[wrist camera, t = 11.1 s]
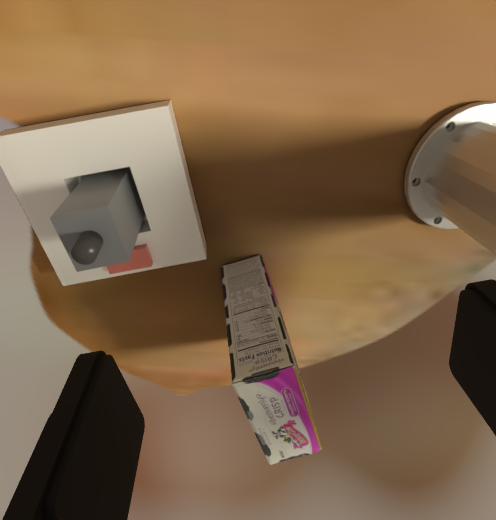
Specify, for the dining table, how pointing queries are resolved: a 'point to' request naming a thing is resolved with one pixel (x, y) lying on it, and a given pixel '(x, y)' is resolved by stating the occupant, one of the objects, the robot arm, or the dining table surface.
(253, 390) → the candy bar box
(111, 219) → the plug
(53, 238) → the socket plate
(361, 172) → the dining table surface
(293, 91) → the dining table surface
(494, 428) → the robot arm
